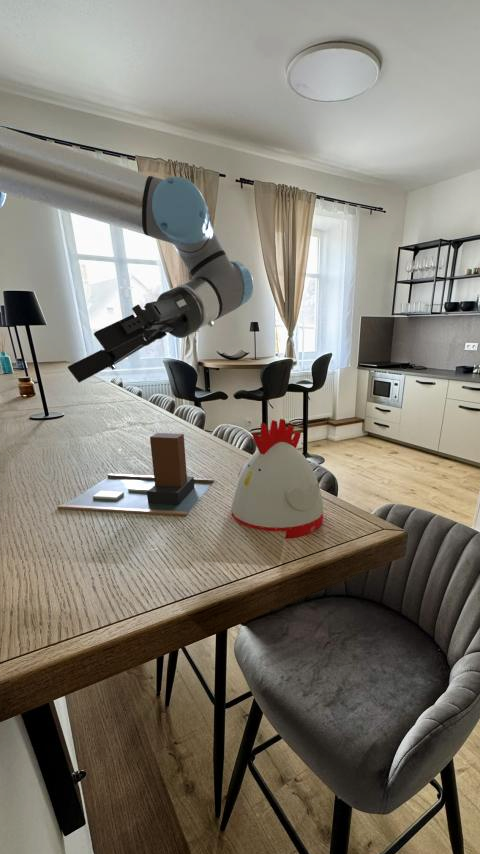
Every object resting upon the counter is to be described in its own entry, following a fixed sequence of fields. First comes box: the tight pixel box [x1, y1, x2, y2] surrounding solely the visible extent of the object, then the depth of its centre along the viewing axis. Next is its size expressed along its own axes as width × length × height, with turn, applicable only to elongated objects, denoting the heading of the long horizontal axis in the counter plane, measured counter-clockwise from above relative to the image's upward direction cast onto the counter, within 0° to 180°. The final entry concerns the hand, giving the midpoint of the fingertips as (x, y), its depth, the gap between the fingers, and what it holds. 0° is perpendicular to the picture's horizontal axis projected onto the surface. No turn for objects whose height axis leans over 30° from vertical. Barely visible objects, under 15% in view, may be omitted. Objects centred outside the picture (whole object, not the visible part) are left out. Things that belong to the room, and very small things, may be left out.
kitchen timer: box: [231, 418, 324, 539], centre depth 60 cm, size 14×14×15 cm
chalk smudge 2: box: [128, 484, 154, 492], centre depth 70 cm, size 4×2×1 cm, turn 84°
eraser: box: [147, 432, 195, 505], centre depth 66 cm, size 8×5×10 cm, turn 174°
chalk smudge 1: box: [93, 491, 124, 500], centre depth 67 cm, size 4×2×1 cm, turn 84°
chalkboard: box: [57, 473, 215, 517], centre depth 69 cm, size 20×16×2 cm
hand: (85, 360), depth 60 cm, fingers open, 13 cm apart
